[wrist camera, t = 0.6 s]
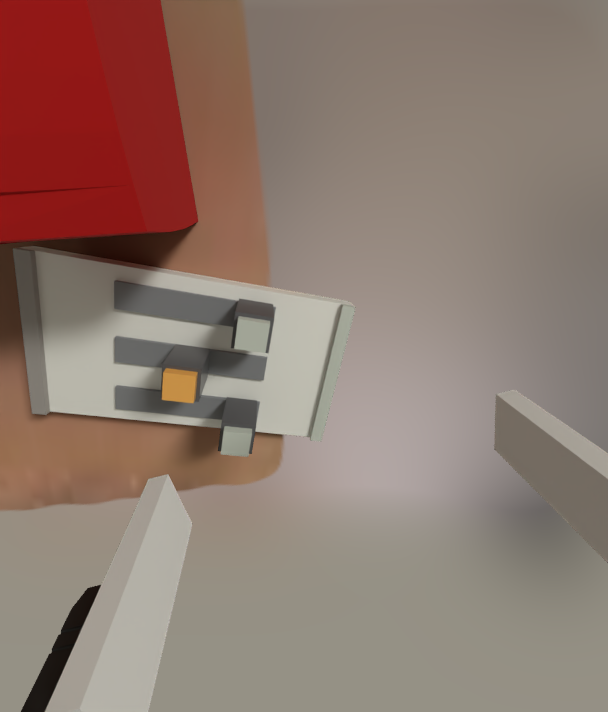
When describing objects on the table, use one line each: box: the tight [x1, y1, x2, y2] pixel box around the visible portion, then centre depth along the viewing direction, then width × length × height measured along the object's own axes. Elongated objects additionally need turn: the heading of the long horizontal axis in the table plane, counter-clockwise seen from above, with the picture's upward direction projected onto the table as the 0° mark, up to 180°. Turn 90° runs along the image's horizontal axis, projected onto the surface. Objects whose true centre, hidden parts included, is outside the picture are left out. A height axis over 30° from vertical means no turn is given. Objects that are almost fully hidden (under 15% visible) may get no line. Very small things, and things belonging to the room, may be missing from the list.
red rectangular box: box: [0, 0, 198, 244], centre depth 18 cm, size 16×11×15 cm
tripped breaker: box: [161, 344, 210, 403], centre depth 28 cm, size 3×3×5 cm
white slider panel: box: [13, 246, 355, 457], centre depth 30 cm, size 28×15×8 cm, turn 79°
